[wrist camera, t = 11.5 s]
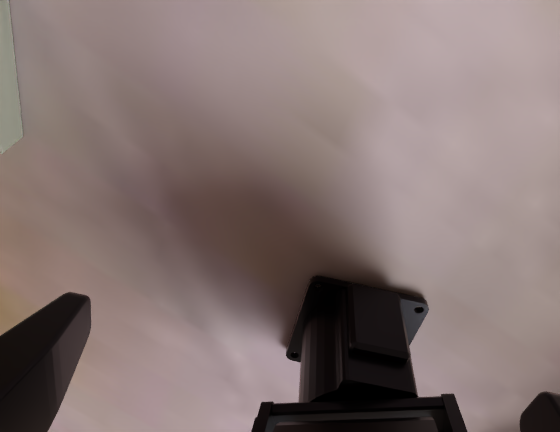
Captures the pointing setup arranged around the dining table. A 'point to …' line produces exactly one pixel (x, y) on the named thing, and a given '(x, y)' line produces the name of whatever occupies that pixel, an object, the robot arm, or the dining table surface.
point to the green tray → (8, 84)
